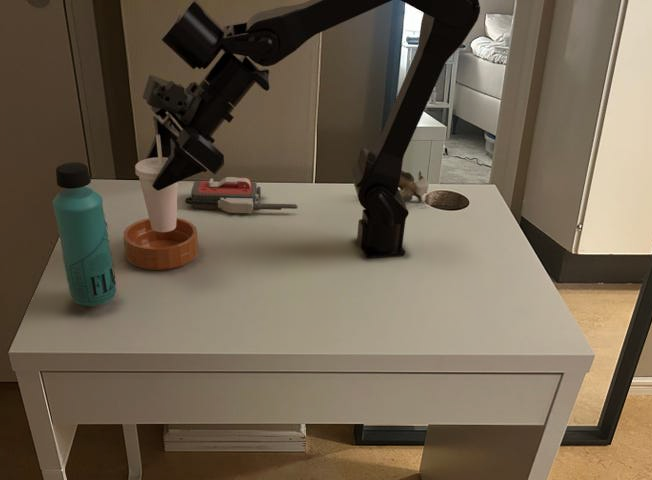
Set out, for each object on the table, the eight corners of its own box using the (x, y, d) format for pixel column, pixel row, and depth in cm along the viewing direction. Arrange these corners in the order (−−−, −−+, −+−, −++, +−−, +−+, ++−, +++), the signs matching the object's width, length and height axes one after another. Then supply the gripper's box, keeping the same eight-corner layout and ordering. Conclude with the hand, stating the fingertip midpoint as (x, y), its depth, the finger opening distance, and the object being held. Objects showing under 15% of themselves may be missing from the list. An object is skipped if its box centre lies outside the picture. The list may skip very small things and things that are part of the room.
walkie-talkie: (183, 214, 123) (297, 216, 123) (181, 190, 120) (297, 193, 120) (190, 194, 130) (297, 196, 130) (188, 171, 127) (298, 173, 127)
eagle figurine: (411, 184, 132) (368, 179, 130) (429, 160, 126) (384, 155, 123) (418, 218, 130) (374, 214, 127) (436, 196, 123) (391, 191, 121)
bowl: (195, 237, 116) (193, 214, 113) (201, 269, 107) (199, 246, 104) (126, 241, 114) (123, 219, 111) (126, 275, 105) (123, 251, 103)
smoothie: (177, 238, 102) (168, 144, 94) (136, 234, 103) (123, 140, 95) (190, 219, 108) (183, 129, 99) (151, 216, 109) (140, 125, 100)
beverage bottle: (95, 321, 95) (71, 180, 83) (61, 306, 98) (32, 168, 86) (128, 300, 99) (110, 163, 87) (94, 287, 102) (72, 153, 90)
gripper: (158, 38, 99) (92, 125, 102) (195, 70, 85) (117, 169, 88) (214, 90, 106) (151, 169, 109) (256, 128, 92) (182, 217, 96)
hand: (149, 179), depth 101 cm, fingers closed on smoothie, 6 cm apart
